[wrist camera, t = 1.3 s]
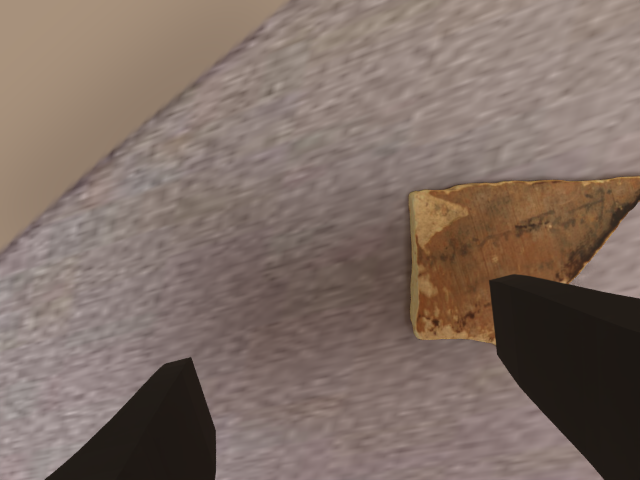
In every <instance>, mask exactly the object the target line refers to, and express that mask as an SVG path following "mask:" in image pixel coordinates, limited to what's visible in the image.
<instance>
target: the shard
mask: <svg viewBox="0 0 640 480" xmlns="http://www.w3.org/2000/svg"><path fill="white" fill-rule="evenodd" d="M639 201H640V176H637V177H617V178H613V179H607V180H591V181H564V180H538V181H531V182H526V181H508V182H506V181H503V182H499V183H471V184H464V185H456V186H454V187H451V188H449V189H445V190H422V191H414V192H412V193H410V194H409V211H410V231H411V243H412V245H411V246H412V273H411V285H410V290H411V305H410V316H411V317H410V320H411V321H412V325H413V330H414V335H415V336H416V337H417V338H419V339H421V340H437V339H459V338H461V339H472V340H476V341H482V342H486V343H493V344H494V345H496V339H495V330H494V321H493V313H492V304H491V295H490V286H489V280H492V279H496V278H500V277H504V276H508V275H511V274H518V275H526V276H532V277H537V278H542V279H547V280H551V281H556V282H560V283H565V284H569V283H570V282H571V281H572V280H573V279H574V278H575V277H576V276H577V275H578V274H579V273H580V272H581V271H582V269H583V268H584V267H585V265H586V264H587V263H588V262H589V261H590V260H591V259H592V258H593V256H594V255H595V254H596V253H597V252H598V251H599V250H600V249H601V248H602V246H603V245H604V243H605V242H606V241H607V239H608V238H609V237H610V236H611V234H612V233H613V232H614V231H615V229H616V228H617V227H618V225H619V223H620V222H621V221H622V220H623V219H624V217H625V216H626V215H627V214H628V212H629V211H630V210H632V209H633V208H634V207H635V206H636V205H637V203H638V202H639Z"/></svg>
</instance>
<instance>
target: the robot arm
mask: <svg viewBox="0 0 640 480" xmlns="http://www.w3.org/2000/svg"><path fill="white" fill-rule="evenodd" d="M489 286H490V295H491V304H492V313H493V321H494V330H495V339H496V348H497V355H498V356H499V358H500V359H501V361H502V362H503V364H504V365H505V367H506V368H507V370H508V371H509V373H510V374H511V375H512V377H513V378H514V380H515V381H516V382H517V384H518V385H519V387H520V388H521V389H522V390H523V391H524V392H525V393H526V394H527V396H528V397H529V398H530V399H531V400H532V401H533V402H534V403H535V404H536V405H537V406H538V408H539V409H540V410H541V411H542V412H543V413H544V414H545V415H546V416H547V417H548V418H549V419H550V420H551V422H552V423H553V424H554V425H555V426H556V427H557V428H558V429H559V430H560V431H561V432H562V433H563V434H564V435H565V436H566V438H567V439H568V440H569V441H570V442H571V443H572V444H573V445H574V446H575V447H576V448H577V449H578V450H579V451H580V452H581V454H582V455H583V456H584V457H585V458H586V459H587V460H588V461H589V462H590V463H591V465H592V466H593V467H594V468H595V469H596V470H597V472H598V473H599V474H600V475H601V476H602V477H603V479H604V480H640V299H639V298H633V297H628V296H622V295H616V294H611V293H606V292H601V291H597V290H592V289H587V288H583V287H578V286H574V285H569V284H565V283H560V282H556V281H551V280H547V279H542V278H537V277H532V276H526V275H518V274H511V275H508V276H504V277H500V278H496V279H492V280H489ZM215 474H216V430H215V427H214V424H213V421H212V418H211V415H210V412H209V409H208V406H207V403H206V400H205V397H204V394H203V391H202V388H201V385H200V382H199V379H198V376H197V373H196V370H195V367H194V364H193V361H192V358H191V357H190V358H186V359H182V360H178V361H174V362H170V363H166V364H164V365H163V366H162V367H161V368H159V369H158V370H157V371H156V372H155V373H154V374H153V375H152V376H151V377H150V379H149V380H148V381H147V382H146V383H145V384H144V385H143V386H142V387H141V388H140V389H139V390H138V391H137V392H136V393H135V395H134V396H133V397H132V398H131V399H130V400H129V401H128V402H127V403H126V404H125V405H124V406H123V407H122V408H121V409H120V410H119V411H118V413H117V414H116V415H115V416H114V417H113V418H112V419H111V420H110V421H109V422H108V423H107V424H106V425H105V426H103V427H102V428H101V429H100V430H99V431H98V432H97V433H96V434H95V435H94V436H93V437H92V438H91V439H90V440H89V441H88V442H87V443H86V444H85V445H84V446H83V447H82V448H81V449H80V450H79V451H78V452H76V453H75V454H74V455H73V456H72V457H71V458H70V459H69V460H67V461H66V462H65V463H64V464H63V465H62V466H61V467H59V468H58V469H57V470H56V471H55V472H53V473H52V474H51V475H50V476H48V477H47V478H46V479H45V480H215Z"/></svg>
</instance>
